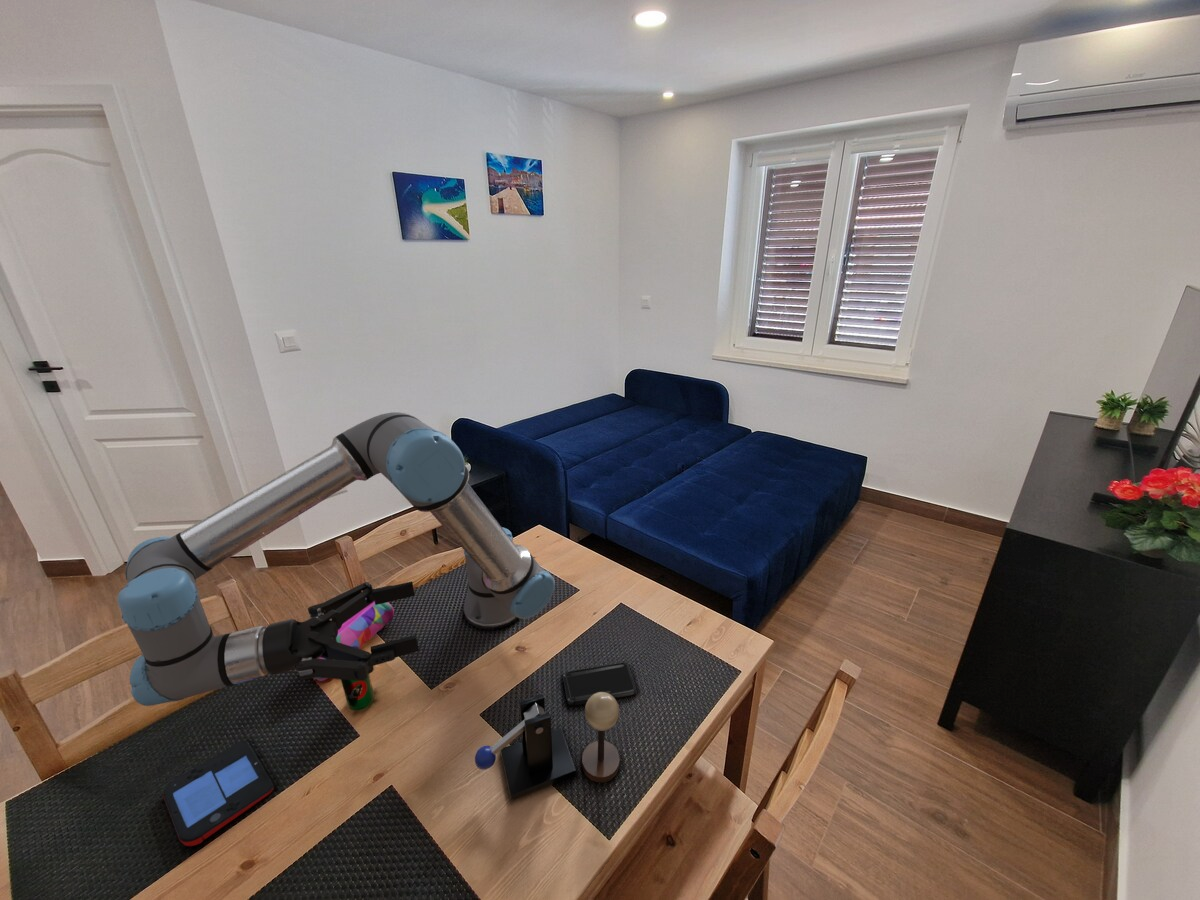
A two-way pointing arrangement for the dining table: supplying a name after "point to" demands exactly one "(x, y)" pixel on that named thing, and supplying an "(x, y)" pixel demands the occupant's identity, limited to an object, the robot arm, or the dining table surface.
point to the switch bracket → (536, 754)
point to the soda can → (358, 693)
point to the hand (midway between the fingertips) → (415, 613)
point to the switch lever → (504, 740)
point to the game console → (216, 793)
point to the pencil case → (364, 626)
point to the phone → (598, 682)
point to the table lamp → (601, 738)
